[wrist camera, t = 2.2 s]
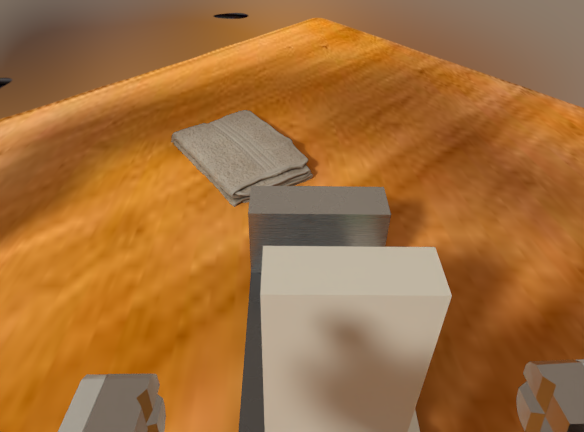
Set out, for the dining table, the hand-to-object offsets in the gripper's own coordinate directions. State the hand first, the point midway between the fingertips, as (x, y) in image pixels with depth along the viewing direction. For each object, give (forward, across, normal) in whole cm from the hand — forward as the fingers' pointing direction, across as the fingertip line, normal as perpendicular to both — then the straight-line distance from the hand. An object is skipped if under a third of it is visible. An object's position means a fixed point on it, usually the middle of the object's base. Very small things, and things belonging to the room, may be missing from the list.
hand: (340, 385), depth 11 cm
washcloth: (+51, +8, +18) cm, 55 cm away
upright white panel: (+13, -2, +21) cm, 25 cm away
